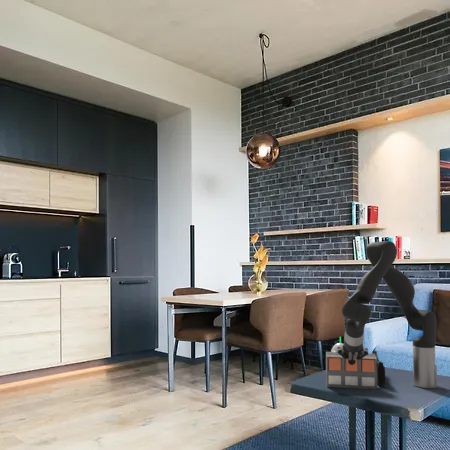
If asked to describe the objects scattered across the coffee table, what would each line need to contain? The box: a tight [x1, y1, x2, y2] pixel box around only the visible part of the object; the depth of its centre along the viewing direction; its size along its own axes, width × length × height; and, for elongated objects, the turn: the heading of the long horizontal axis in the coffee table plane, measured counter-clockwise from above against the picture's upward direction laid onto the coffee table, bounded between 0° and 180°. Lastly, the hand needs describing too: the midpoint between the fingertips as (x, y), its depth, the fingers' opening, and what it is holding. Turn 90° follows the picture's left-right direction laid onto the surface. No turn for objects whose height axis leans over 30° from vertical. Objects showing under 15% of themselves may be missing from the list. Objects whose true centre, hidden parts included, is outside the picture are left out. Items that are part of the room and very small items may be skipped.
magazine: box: [371, 350, 387, 386], centre depth 227 cm, size 17×3×30 cm
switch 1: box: [328, 357, 341, 371], centre depth 214 cm, size 5×5×5 cm
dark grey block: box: [325, 351, 378, 391], centre depth 214 cm, size 21×6×14 cm, turn 80°
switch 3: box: [361, 359, 374, 372], centre depth 211 cm, size 5×5×5 cm
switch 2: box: [345, 359, 358, 371], centre depth 213 cm, size 5×5×5 cm
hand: (351, 363), depth 208 cm, fingers closed
